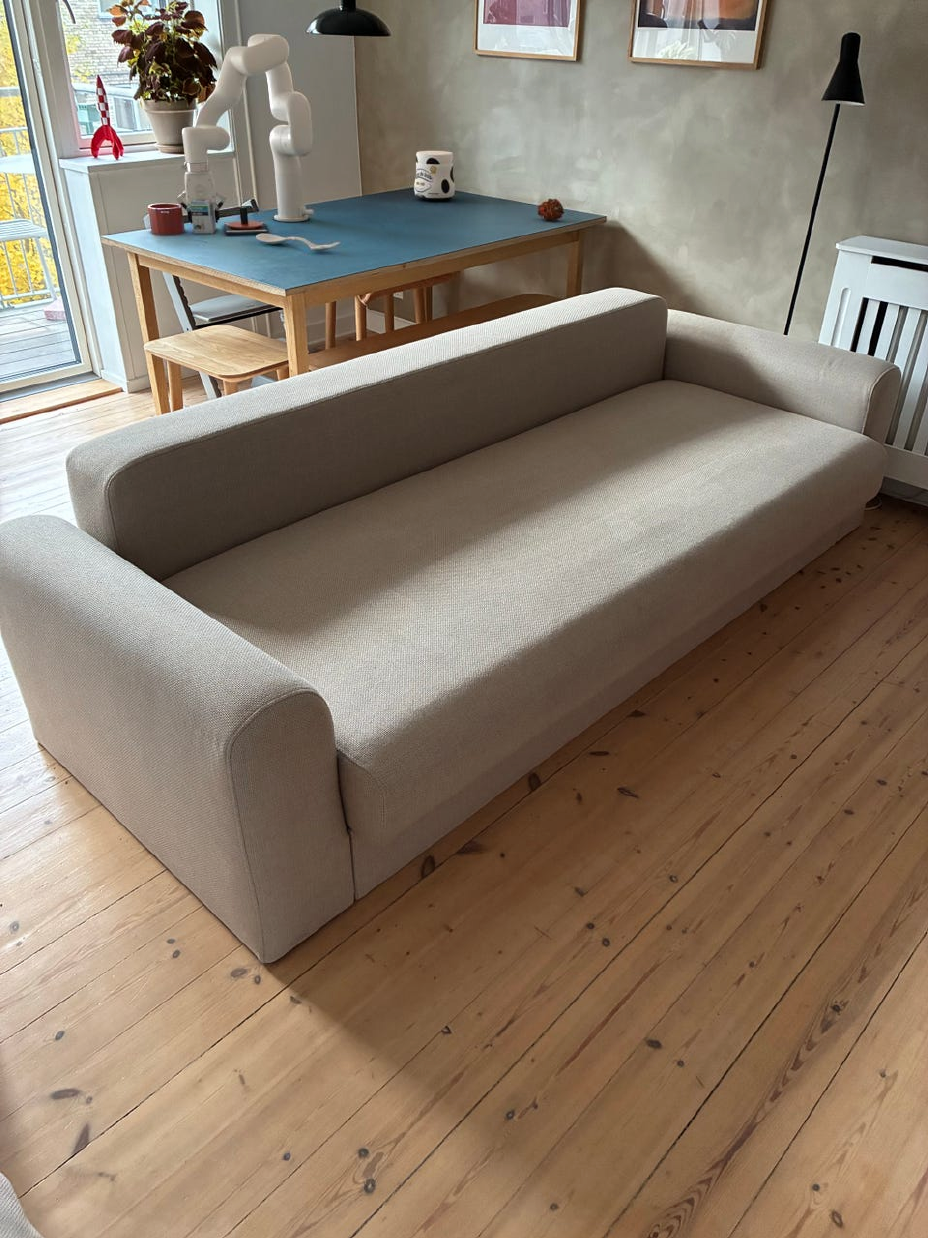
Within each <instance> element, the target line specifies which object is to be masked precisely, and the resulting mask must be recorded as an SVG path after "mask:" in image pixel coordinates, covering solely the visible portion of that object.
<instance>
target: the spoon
mask: <svg viewBox="0 0 928 1238" xmlns="http://www.w3.org/2000/svg"><path fill="white" fill-rule="evenodd" d="M255 238H256V240H258V241H260V242H262V243H265V244H267V245H279V244H283V243H285V242H289V241H296V242H301V243H305V244H306V245H307V246H308V247H309V248H310V249H311V250H312V251H315V252H324V251H327V250H330V249H333V248H335V247H338V246H341V242H340V241H336V242H333V243H330V244H321V245H320V244H315V243H313V242H311V241H309V240H308V239H307V238H304V237H299V236H287V237H283V236H280V235H277V234H271V233H268V234H259V235H255Z"/></svg>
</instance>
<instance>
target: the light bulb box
mask: <svg viewBox="0 0 928 1238" xmlns="http://www.w3.org/2000/svg"><path fill="white" fill-rule="evenodd" d="M190 206H191V213H192V221H193V223H192V227H193V234H198V235H199V234H201V235H203V234H206V235H207V234H209V235H210V234H212V235H213V234H214V233H215V231H216V230H217V223H216V221H215V213H214V210H215V208H214V207H213V205H212V204H210V200H190Z"/></svg>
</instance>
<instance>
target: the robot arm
mask: <svg viewBox="0 0 928 1238" xmlns="http://www.w3.org/2000/svg"><path fill="white" fill-rule="evenodd" d="M289 55H290V46H289V43H288V41H287V40H286V39H285V38H284V37H283V36H281V35H278V34H270V33H269V34H268V33H257V34H253V35H251V36H249V38H248V41H247V46H245V45H244V46H242V45H235V46H231V47H230V48H229V49H228V50H227V51H226V54H225V56H224V59H223V62H222V65H221V69H220V71H219V75H218V78H217V81H216V85H215V87H214V90H213V92H212V93H210V95H208V97H207V99H206V100H205V102H203V105H202V106H201V107H200V108H199V111H198V114H197V117H196V120H195V124H194V126H187V127H184V128H182V130H181V136H182V137H181V138H182V144H183V153H184V160H185V162H184V163H183V164H181V169H183V170H185V172H184V191H183V192H181V193H180V195H178V196H177V197H176V201H177V203H178V204H179V205H181V206H182V209H184V210H185V211H186V212H187V213H186V214H187V220H188V221H187V222H190V224H191V225H193V221H192V213H191V206H190V200H210V204H212V205H213V207H214V213H215V222H216V224H218V223H219V221H220V212H219V211H220V209H221V208H222V207H223V205H224V204H225V201H226V200H227V197H226V196H225V195H224V194H222V193H220V191H218V190H216V185H215V179H214V176H213V173H212V171H210V166H209V165H210V164H209V156H208V151H216V152H217V151H218V152H220V151H224V150H226V149H228V148H229V146H230V143H231V136H230V133H229V132H228V131H227V129H225V128H224V127H222V126H220V125H219V126H218V122H219V120H220V119H221V117H222V116H223V115H224V114H225V113H226V112H228V111H229V110H230V109H232V108H234V107H235V106H237V105H238V104H239V103H240V101H241V97H242V93H243V90H244V87H245V85H246V81H247V79H248V77H256V76H260V75H263V74H265V76H266V82H267V88H268V89H267V90H268V98H269V99H268V100H269V107H270V113H271V115H272V116H273V118H275V119H276V120H278V121H282V122H288V123H287V124H278V125H276V126H274V127H273V128H272V129H271V131H270V134H269V147H270V150H271V154H272V158H273V166H274V167H273V168H274V179H275V192H276V203H277V204H276V205H277V214H275V215H274V216H273V217H274V218H273V219H274V220H275V221H277V222H285V223H294V222H295V223H299V222H305V221H307V220H309V216H310V217H311V216H312V217H313V216H315V210H314V209H308V208H307V206H306V205H304V199H303V195H304V194H303V181H302V180H303V179H302V166H301V162H300V159H299V157H300V158H303V157H306V156H308V155H309V154H310V153H311V152H312V149H313V145H314V135H313V122H312V121H313V120H312V111H311V105H310V103H309V101H308V98H307V97H306V96H305V95H304V94H302V93H301V92H299V91H294V86H293V79H292V73H291V69H290V66H289V63H287V60H288V58H289ZM217 197H218V198H220V201H219V202H218V203H217V199H218V198H217ZM184 198H185V199H186V203H187V204H186V203H185V202H184V201H183V199H184Z"/></svg>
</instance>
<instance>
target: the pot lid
mask: <svg viewBox="0 0 928 1238" xmlns="http://www.w3.org/2000/svg"><path fill="white" fill-rule="evenodd" d="M238 208H239V217H240V218H239V220H237V221H230V222H227V223H228V224H227V226H228V227H231V228H234V229H242V230H246V229H255V228H257V227H261V226H262V223H260V222H261V221H254V220H249V217H248V216H249V215H248V207H247V206H239V207H238Z"/></svg>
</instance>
